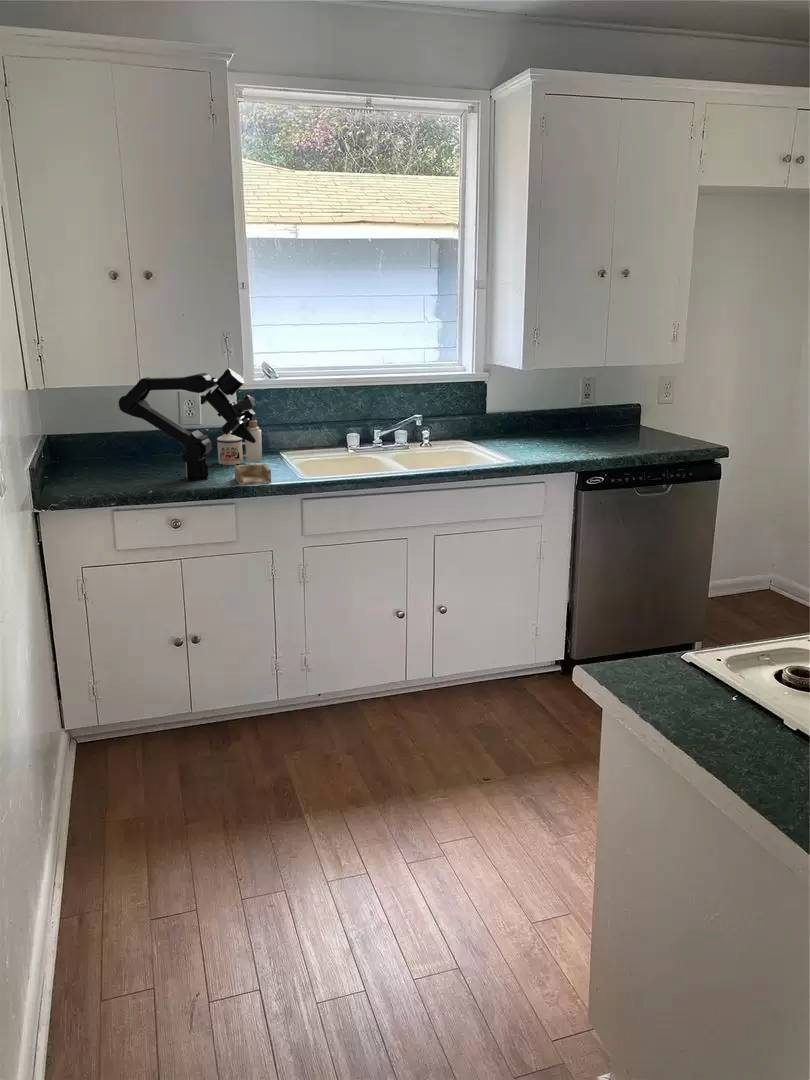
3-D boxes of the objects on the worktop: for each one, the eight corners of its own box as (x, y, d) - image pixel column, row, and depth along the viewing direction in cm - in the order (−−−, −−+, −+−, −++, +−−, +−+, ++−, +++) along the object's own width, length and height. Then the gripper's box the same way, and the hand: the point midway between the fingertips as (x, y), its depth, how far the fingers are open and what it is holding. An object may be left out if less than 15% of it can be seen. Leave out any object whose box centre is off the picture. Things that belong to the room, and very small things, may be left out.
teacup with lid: (217, 466, 294) (215, 433, 291) (218, 460, 303) (216, 429, 299) (251, 465, 296) (250, 432, 293) (251, 459, 305) (250, 428, 301)
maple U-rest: (240, 485, 267) (239, 472, 266) (235, 478, 276) (234, 465, 275) (271, 482, 271) (270, 470, 270) (265, 476, 280) (264, 463, 278)
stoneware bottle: (244, 461, 270) (242, 421, 266) (248, 458, 275) (246, 419, 271) (260, 462, 269) (258, 422, 265) (263, 459, 274) (262, 419, 270)
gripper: (230, 391, 256) (266, 428, 259) (248, 384, 274) (281, 419, 276) (206, 416, 260) (242, 452, 262) (226, 407, 277) (259, 441, 280)
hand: (257, 440), depth 270 cm, fingers closed on stoneware bottle, 5 cm apart
